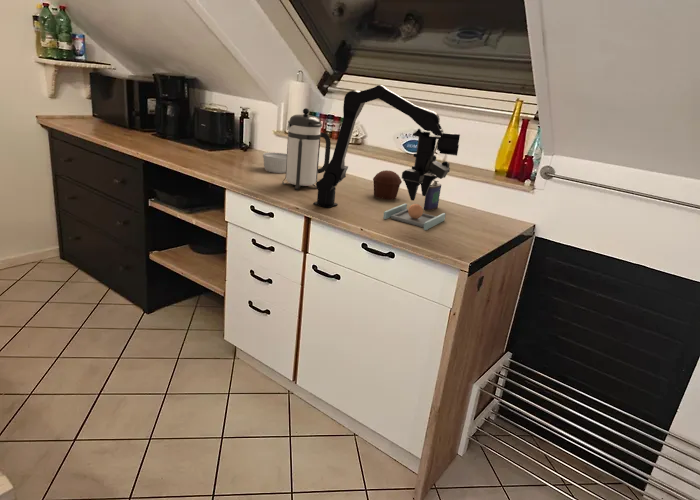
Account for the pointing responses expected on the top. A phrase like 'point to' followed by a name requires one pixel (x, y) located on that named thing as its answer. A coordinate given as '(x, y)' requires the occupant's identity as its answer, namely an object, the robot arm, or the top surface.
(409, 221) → the dish
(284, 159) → the ramekin
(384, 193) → the muffin
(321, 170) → the coffee press
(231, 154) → the top surface
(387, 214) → the acrylic walls
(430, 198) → the flask
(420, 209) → the ball
